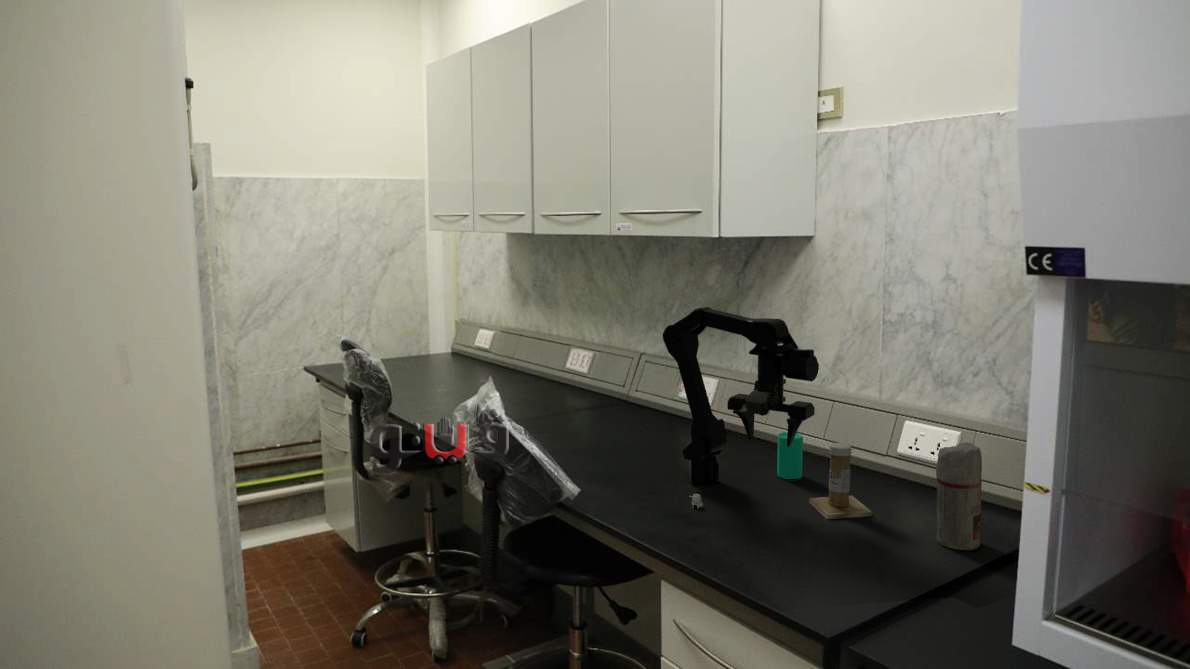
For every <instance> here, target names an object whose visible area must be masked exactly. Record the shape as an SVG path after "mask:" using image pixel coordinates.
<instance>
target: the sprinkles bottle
mask: <svg viewBox="0 0 1190 669" xmlns="http://www.w3.org/2000/svg"><path fill="white" fill-rule="evenodd" d="M828 450H829V452H828V453H829V455H830V456H829V457H830V458H829V459H830V460H829V471H828V472H829V478H828V497H829V500H828V503H829V504H830V505H832V506H835V507H846V506H848V505H849V496H850V489H851V488H850V486H851V455H852V446H851V444H849V443H845V442H833V443H831V444H829V449H828Z"/></svg>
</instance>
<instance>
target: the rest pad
mask: <svg viewBox="0 0 1190 669" xmlns="http://www.w3.org/2000/svg"><path fill="white" fill-rule="evenodd" d="M808 499H809V500H808V503H809V504H810V505H811V506H812V507H813V506H814V507H815V508H814V507H813V508H814V509H815V510H816V511H817V512H819V513H820V514H821V515H822V516H823V517H824V518H825V519H826V520H833V519H835V520H836V519H837V520H838V519H850V518H864V517H865V518H866V517H872V516H873V511H872V510H871V509H869V508H868V507H867V506H865V504H863V503H862V502H860V501H859V500H858V499H857V498H856V497H854V495H849V505H848V506H846V507H835V506H832V505H830V504H829V503H828V500H829V496H826V497H825V496H824V497H823V496H821V497H809V498H808Z"/></svg>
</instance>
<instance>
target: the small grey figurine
mask: <svg viewBox="0 0 1190 669" xmlns="http://www.w3.org/2000/svg"><path fill="white" fill-rule="evenodd" d="M692 494H693V495H689V496H688V497H689V498H692V499H691V502H690V503H691V505H692V509H694V508H695V507H694V505H695V506H696V507H697V509H698V508H699V507H702V506H703V507H704V503H703V502H702V498H701V494H699V493H692ZM703 507H702V508H703ZM699 509H700V508H699Z"/></svg>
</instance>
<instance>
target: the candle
mask: <svg viewBox="0 0 1190 669" xmlns="http://www.w3.org/2000/svg"><path fill="white" fill-rule="evenodd" d="M787 433H788V432H786V431H783V432H781V433H778V435H777V458H776V459H777V461H776V463H777V464H776V466H777V469H776V471H777V472H776V476H777V475H778V476H779V477H781V478H784V479H798V480H800V479H799V478H801V477H802V478H803V453H804V452H803V451H804V450H803V449H804V448H803V447H804V446H803V445H804V435H802V434H799V433H798V432H797V433H796V435H795V437H794V439H793V442H792V444H791V446H790V447H787ZM778 476H777V477H778ZM779 477H778V478H779ZM781 478H780V479H781ZM802 478H801V479H802ZM784 479H783V480H784Z"/></svg>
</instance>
